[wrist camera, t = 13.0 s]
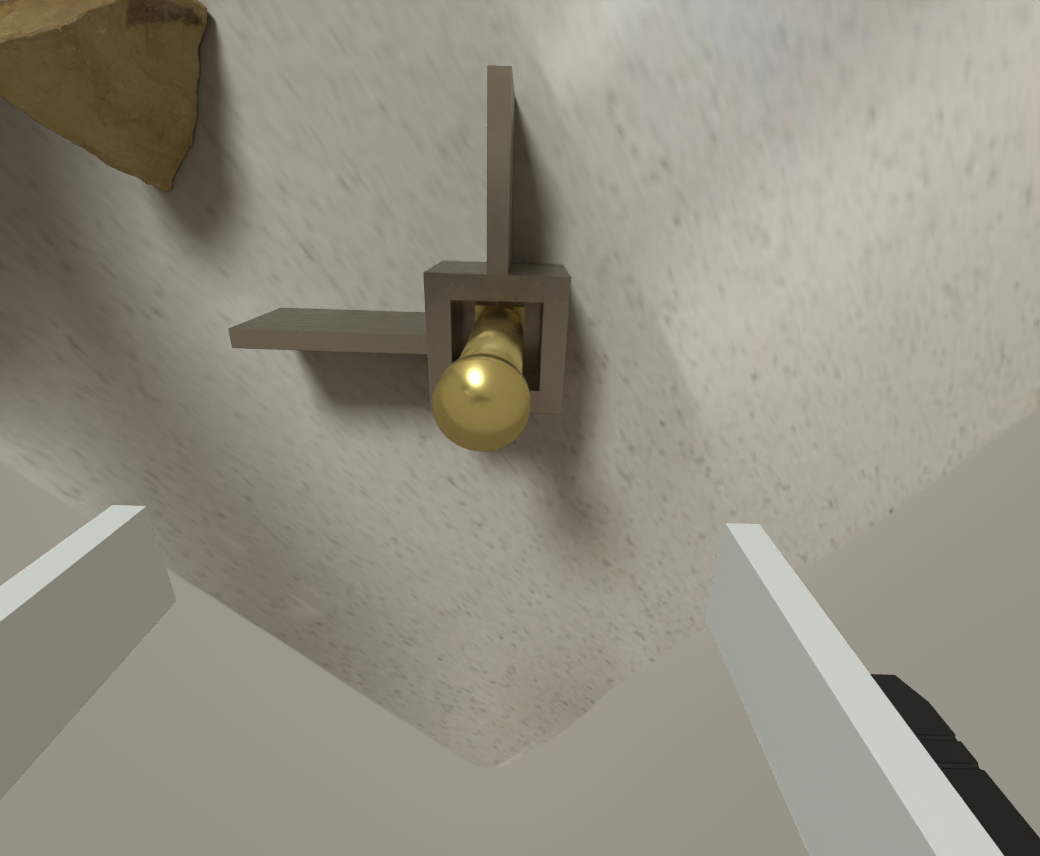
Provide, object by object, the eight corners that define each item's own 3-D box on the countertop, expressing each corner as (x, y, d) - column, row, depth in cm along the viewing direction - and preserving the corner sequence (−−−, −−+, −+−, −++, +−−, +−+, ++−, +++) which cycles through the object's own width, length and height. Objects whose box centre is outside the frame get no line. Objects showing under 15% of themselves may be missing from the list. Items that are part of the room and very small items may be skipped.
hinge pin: (471, 354, 37) (433, 449, 22) (470, 296, 35) (430, 358, 21) (528, 356, 37) (528, 453, 22) (530, 298, 35) (532, 361, 21)
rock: (125, -110, 26) (-28, -6, 27) (115, -74, 22) (-69, 51, 22) (275, 97, 35) (158, 171, 36) (291, 154, 31) (156, 237, 31)
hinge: (290, 371, 39) (243, 403, 32) (245, 87, 31) (173, 55, 25) (556, 380, 39) (561, 414, 32) (573, 97, 31) (584, 68, 25)
